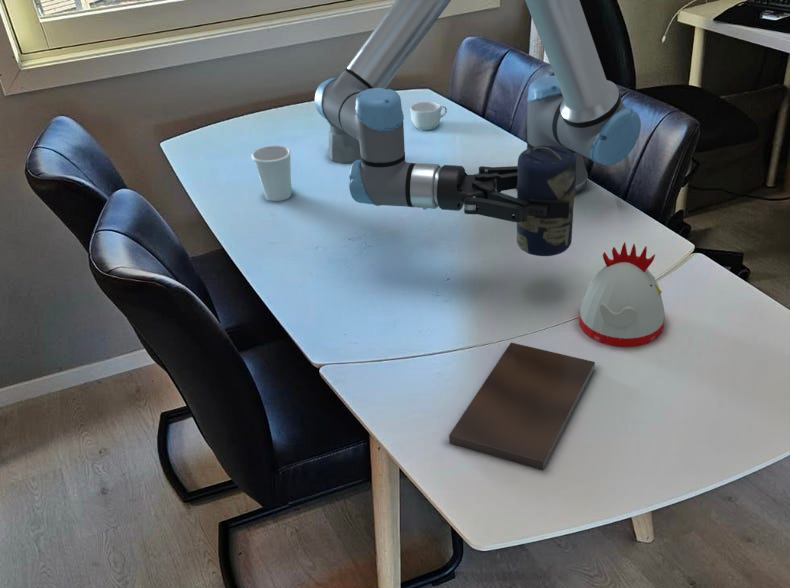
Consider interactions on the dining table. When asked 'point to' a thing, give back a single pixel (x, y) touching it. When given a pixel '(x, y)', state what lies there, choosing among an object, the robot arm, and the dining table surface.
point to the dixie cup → (274, 171)
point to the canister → (546, 198)
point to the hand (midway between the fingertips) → (572, 195)
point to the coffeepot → (342, 146)
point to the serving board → (523, 405)
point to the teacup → (426, 114)
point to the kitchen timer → (623, 301)
